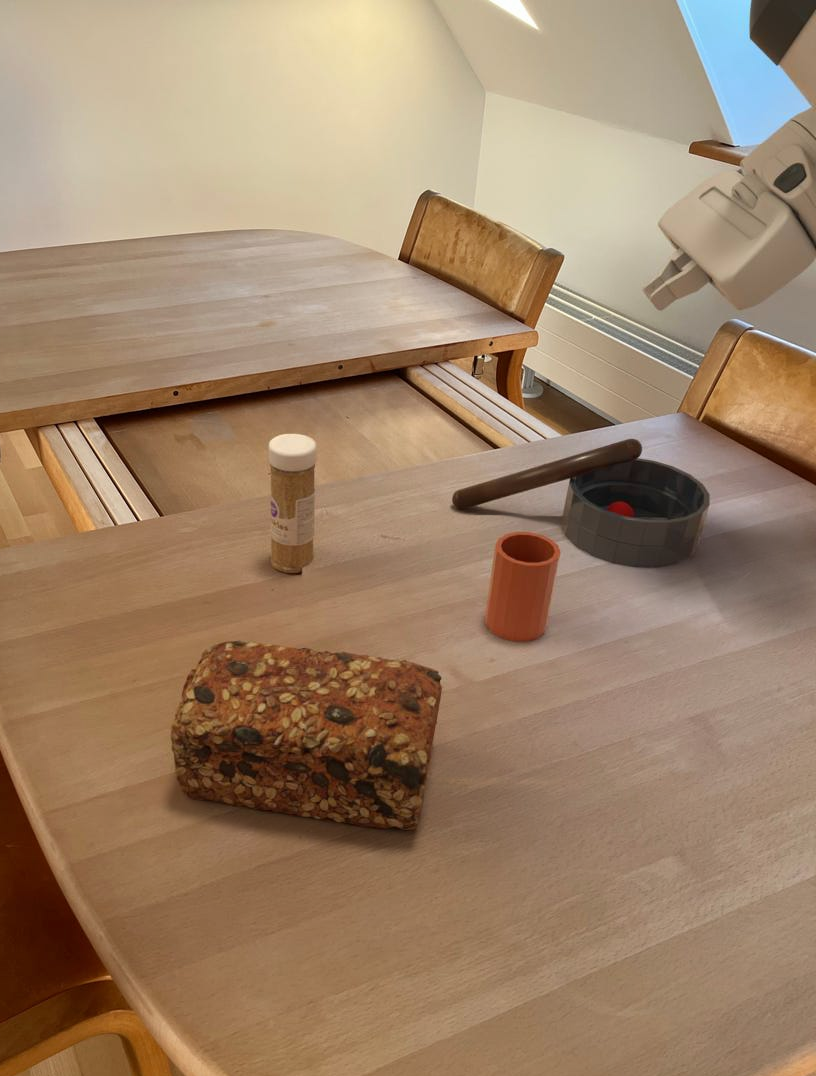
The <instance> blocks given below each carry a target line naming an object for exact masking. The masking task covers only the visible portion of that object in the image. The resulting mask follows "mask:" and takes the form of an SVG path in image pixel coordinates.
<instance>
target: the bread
mask: <svg viewBox="0 0 816 1076" xmlns="http://www.w3.org/2000/svg"><path fill="white" fill-rule="evenodd" d="M442 678H443V677H442V676H441V675H440V674H439V671H438V670H437V669H434V668H431V667H428V666H424V665H421V664H420V663H416V662H412V661H408V660H406V659H396V660H395V659H389V658H383V657H382V656H381V657H380V656H372V655H368V654H363V655H361V654H355V653H351V652H345V651H337V652H331V651H328V650H325V651H320V650H315V649H312V648H307V647H301V648H297V647H290V646H287V645H280V644H273V643H259V642H252V641H251V642H250V641H244V640H243V641H242V640H225V641H220V642H216V643H215V644H213V645H212V646H210V647H208V648H206V649H205V650H204V651H203V652H202V653H201V658H200V659H199V661H198V663H197V665H196V666H195V668H192V669H190V671H189V673H188V674H187V676H186V680H185V682H184V684H183V687H182V692H181V698H180V701H179V706H177V707H175V712H174V716H175V717H174V720H173V722H172V724H171V730H170V740H171V751H172V754H173V761H174V766H175V767H174V771H175V775H176V780H177V782H178V784H179V786H180V788H181V792H182V793H183V794H184V795H185V796H187V797H188V798H190V799H192V800H200V801H204V800H210V801H214V802H220V803H225V804H228V805H231V806H246V807H247V808H251V809H255V810H258V811H269V810H271V811H272V812H274V813H279V812H280V813H284V814H287V815H296V816H298V817H307V818H313V819H316V820H322V819H325V818H329V819H331V820H334V821H335V822H336V823H345V824H352V825H356V826H361V827H375V828H379V829H389V828H393V827H396V828H400V829H401V830H404V831H408V830H414V829H417V827H418V823H419V821H420V817H421V811H422V806H423V801H424V797H425V793H426V787H427V783H428V776H429V770H430V764H431V759H432V749H433V744H434V738H435V733H436V726H437V723H438V715H439V711H440V703H441V699H442V690H443V687H442V685H441V680H442Z"/></svg>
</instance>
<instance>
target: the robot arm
mask: <svg viewBox="0 0 816 1076" xmlns="http://www.w3.org/2000/svg"><path fill="white" fill-rule="evenodd" d="M748 31H749V40H750V41H752V43H753V44H754V45H755V46H756V47H757V48H758V49H759V50H760V51H761V52H762V53H763V54H764V55H765V56H766V57H767V58H768V59H769V60H770V61H771V62H772V63H773V64H774V65H775V66H776V67H778V66H779V67H780V68H781V70H782V71H783V72H784V73H785V74H786V76H787V78H789V80H790V81H791V83H793V85H794V87H796V89H797V90H798V91H799V92H800V94H801V95H802V96H803V97H804V99H805V100H806V101H807V103H808V104H809V105H810V107H809V108H807V109H806V110H804V111H801V112H799V113H798V114H796V115H794V116H793V117H791V118H790V119H788V121H786V122H785V123H784V124H783V125H781V127H778V129H777V130H775V131H774V132H773V133H772V134H771V135H769V137H767V138H766V139H765V140H764V141H762V143H760V144H759V145H758V146H756V148H754V149H753V150H752V151H751V152H750V153H749V154H747V155H746V156H745V157H744V158H743V159H742V160H740V163H739V166H740V169H737V170H735V169H734V170H721V171H719V172H717V173H715V174H714V175H712V176H710V177H709V178H707V179H706V180H704V181H703V182H702V183H700V184H699V185H698V186H696V187H695V188H694V189H692V190H691V191H690V192H688V193H687V194H686V195H684V196H683V197H682V198H681V199H679V200H678V201H677V202H676V203H674V204H673V205H672V206H670V207H669V208H668V209H667V210H665V212H664V213H663V215H661V217H660V219H659V220H658V222H657V226H658V228H659V229H660V231H661V232H662V234H663V236H664V237H665V239H666V240H667V241H668V242H669V244H670V245H671V246H672V247H673V248H674V250H675V251H674V252H673V253H672V254H671V255H669V256H668V258H667V259H666V260H665V262H664V264H663V265H662V266H661V268H660V269H659V271H658V272H657V274H656V275H655V276H654V277H652V279H650V280H649V281H648V282H646V284H644V285H643V287H642V292H643V294H644V295H645V296H646V297H647V299H648V300H649V301H650V302H651V304H652V305H653V306H654V307H655V308H656V310H658V311H664V310H665V309H667V307H669V306H671V304H673V303H674V302H675V301H677V300H680V299H682V298H684V297H687V296H689V295H692V294H694V293H696V292H698V291H700V290H701V289H702V288H704V286H706V285H707V284H708V283H709V284H710V285H711V286H712V287H713V288H714V289H715V290H716V291H717V292H718V293H719V294H720V295H721V296H722V297H723V298H724V299H725V300H726V301H727V302H728V303H729V304H730V305H731V306H733V308H734V309H736V310H737V311H745V310H747V309H750V308H753V307H755V306H758V305H760V304H761V303H763V302H765V301H766V300H768V299H769V298H770V297H771V296H773V295H774V294H776V293H777V292H779V291H780V290H781V289H783V288H784V287H785V286H787V285H788V284H789V283H791V282H792V281H794V280H795V279H796V278H797V277H799V276H800V275H801V274H802V273H804V272H805V271H806V270H807V269H808V268H809V267H810V266H811V265H813V263H814V262H815V260H816V0H750V7H749V30H748Z"/></svg>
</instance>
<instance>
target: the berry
mask: <svg viewBox="0 0 816 1076" xmlns="http://www.w3.org/2000/svg"><path fill="white" fill-rule="evenodd" d="M606 510H607V511H610V512H613V513H616V514H619V515H622V516H626V517H632V518H635V517H634V513H633V510H632V508H631V506H630V505H628V504H627V503H625V502H615V503H612V504H611V505H610V506H609V507H608V508H607V509H606Z"/></svg>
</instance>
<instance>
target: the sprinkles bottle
mask: <svg viewBox="0 0 816 1076" xmlns="http://www.w3.org/2000/svg"><path fill="white" fill-rule="evenodd" d="M317 447H318V446H317V443H316V441H315V440H314V439H313V438H312V437H310V436H308V435H304V434H300V433H284V434H279V435H277V436H274V437H273V438H272V439H271V440H270V441H269V443H268V449H267V452H268V454H267V457H268V463H269V466H270V540H271V542H270V543H271V544H270V545H271V552H270V553H271V554H270V556H269V557H270V558H269V559H270V560H269V561H270V564H271V566H272V567H273V568H274V569H275V570H276V571H279V572H282V573H286V574H298V573H302V572H303V568H304V567H306V566H308V565H310V564H311V563H312V562H313V560H314V537H315V516H316V515H315V512H316V511H315V505H316V504H315V503H316V489H315V468H316V463H317V459H318V457H317V456H318V455H317V454H318V453H317V452H318V451H317V449H318V448H317Z"/></svg>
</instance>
